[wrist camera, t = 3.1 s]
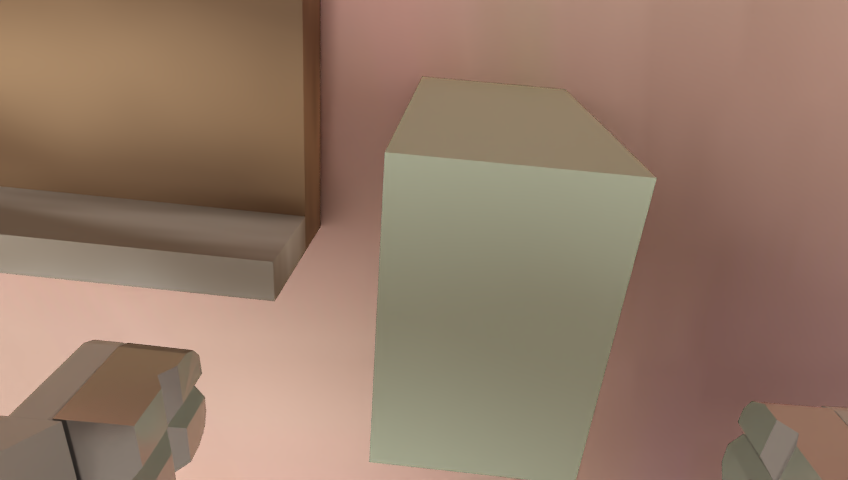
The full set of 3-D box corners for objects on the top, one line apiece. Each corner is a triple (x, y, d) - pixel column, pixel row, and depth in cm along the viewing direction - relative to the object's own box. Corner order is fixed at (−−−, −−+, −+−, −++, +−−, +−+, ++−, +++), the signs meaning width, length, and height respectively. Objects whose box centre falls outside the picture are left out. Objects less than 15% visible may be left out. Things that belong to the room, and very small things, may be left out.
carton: (566, 89, 17) (660, 178, 9) (531, 284, 20) (576, 485, 12) (420, 76, 17) (381, 151, 9) (406, 271, 20) (367, 462, 12)
